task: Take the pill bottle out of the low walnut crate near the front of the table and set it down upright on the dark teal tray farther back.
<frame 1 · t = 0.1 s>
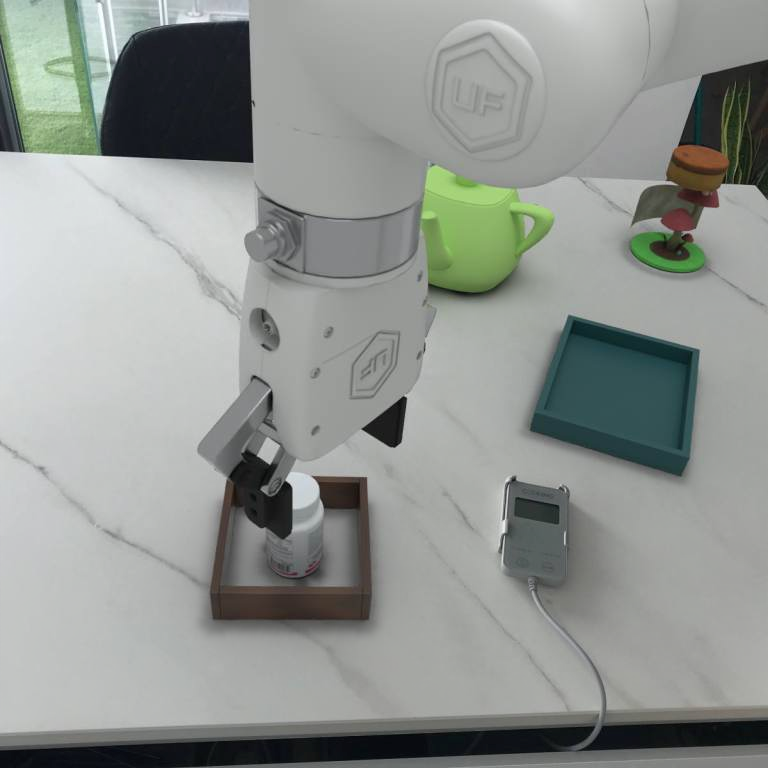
hand: (327, 476, 46), 20 cm above the table, tool pointing down, fingers open, 9 cm apart
pill bottle: (294, 557, 67), resting in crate
mushroom figurine: (668, 253, 113), on the table
teapot: (447, 271, 105), on the table
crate: (294, 556, 66), on the table
tray: (616, 396, 87), on the table
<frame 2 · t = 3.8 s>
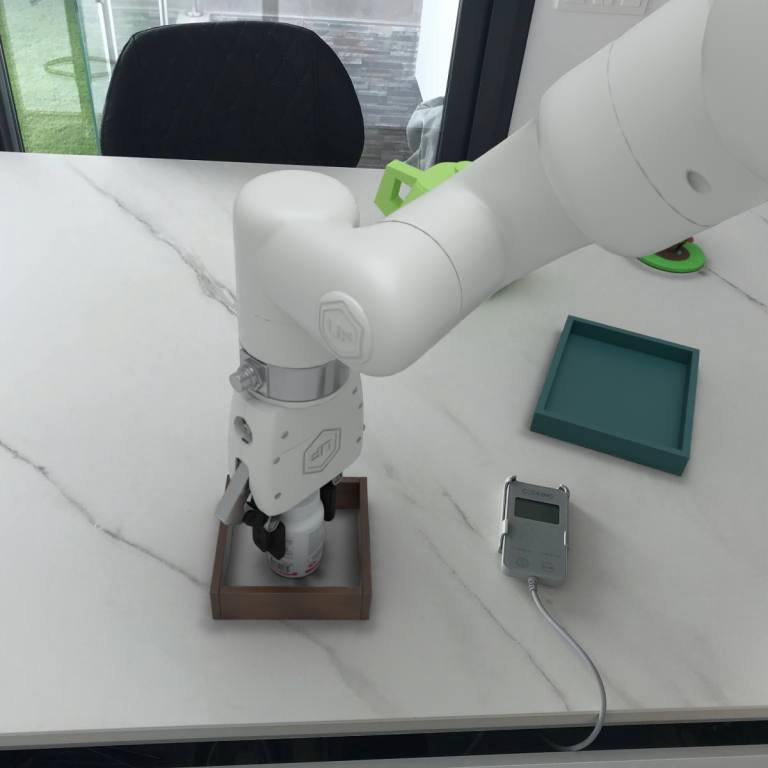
hand: (294, 527, 64), 4 cm above the table, tool pointing down, fingers closed on pill bottle, 4 cm apart
pill bottle: (294, 557, 67), resting in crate, touching gripper
everything else where it was.
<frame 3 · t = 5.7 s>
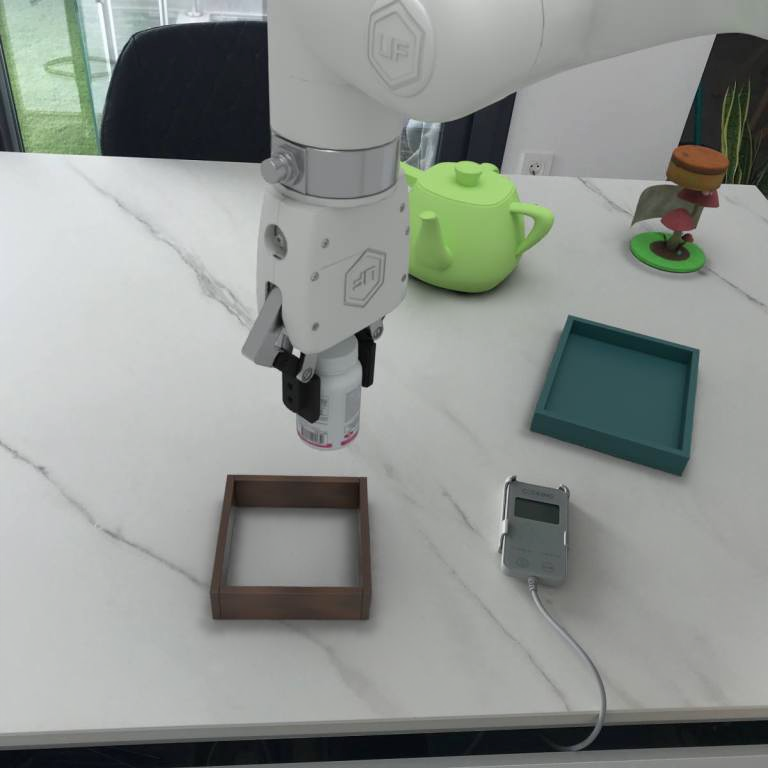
hand: (328, 392, 56), 18 cm above the table, tool pointing down, fingers closed on pill bottle, 4 cm apart
pill bottle: (327, 433, 59), point 14 cm above the table, touching gripper
everything else where it was.
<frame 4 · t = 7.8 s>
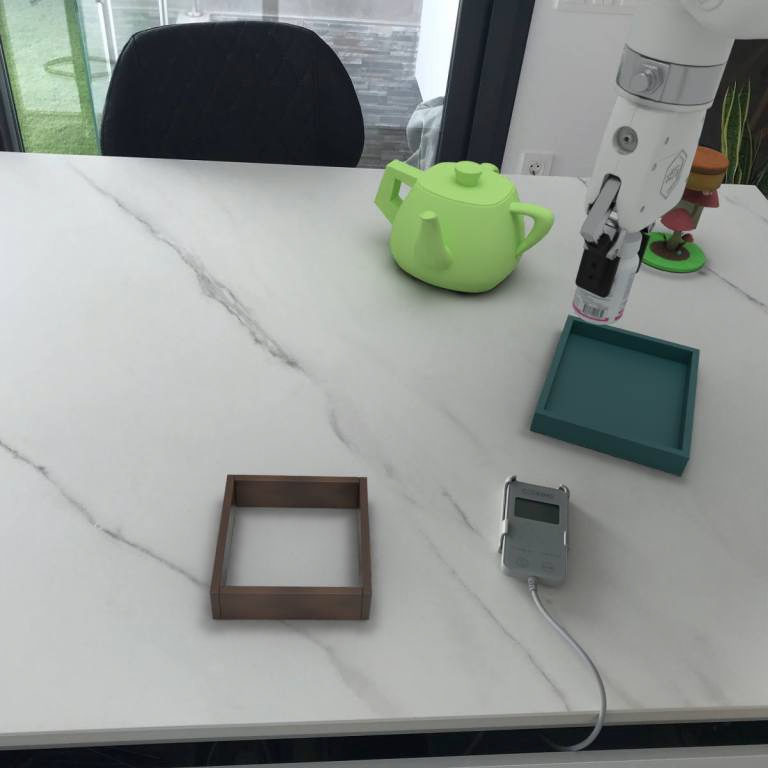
hand: (607, 277, 71), 18 cm above the table, tool pointing down, fingers closed on pill bottle, 4 cm apart
pill bottle: (595, 313, 73), point 14 cm above the table, touching gripper
everything else where it was.
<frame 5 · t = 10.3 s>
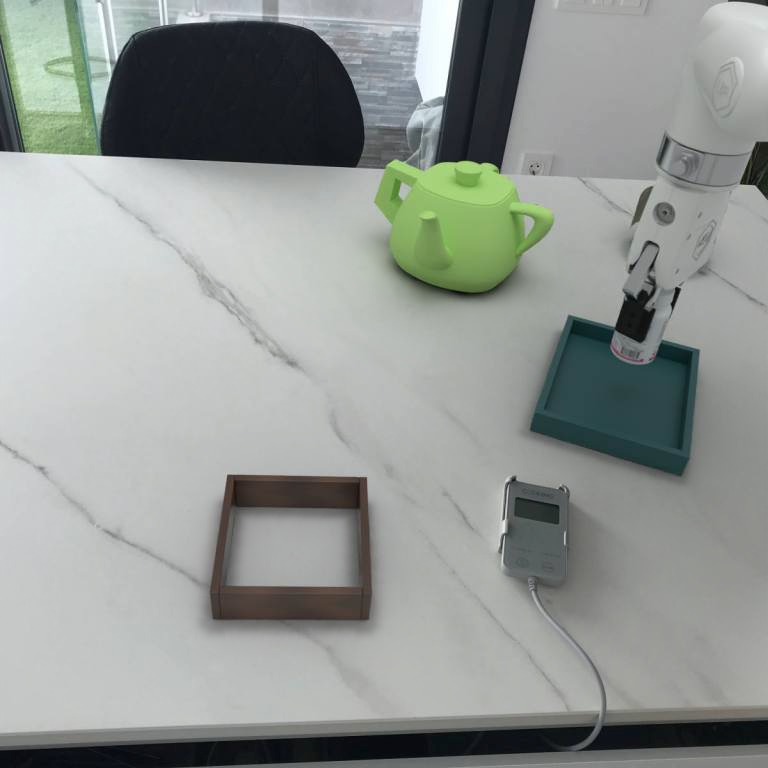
hand: (642, 323, 80), 10 cm above the table, tool pointing down, fingers closed on pill bottle, 4 cm apart
pill bottle: (631, 353, 83), point 6 cm above the table, touching gripper
everything else where it was.
when the fingers open (4 cm above the table, at t = 12.1 s): pill bottle stays where it is, resting on tray.
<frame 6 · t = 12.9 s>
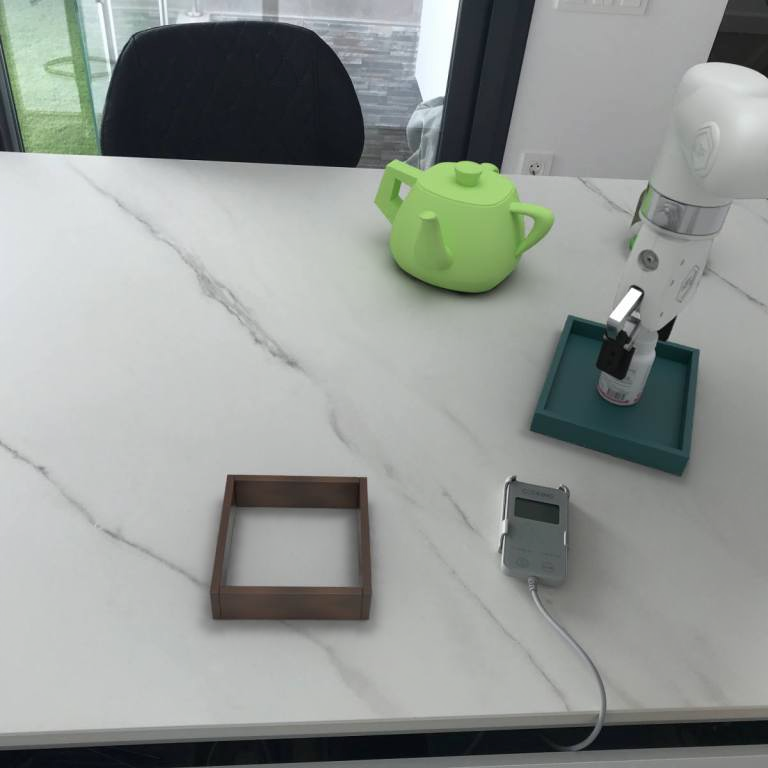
hand: (632, 353, 83), 6 cm above the table, tool pointing down, fingers open, 9 cm apart
pill bottle: (617, 394, 86), resting on tray
everything else where it was.
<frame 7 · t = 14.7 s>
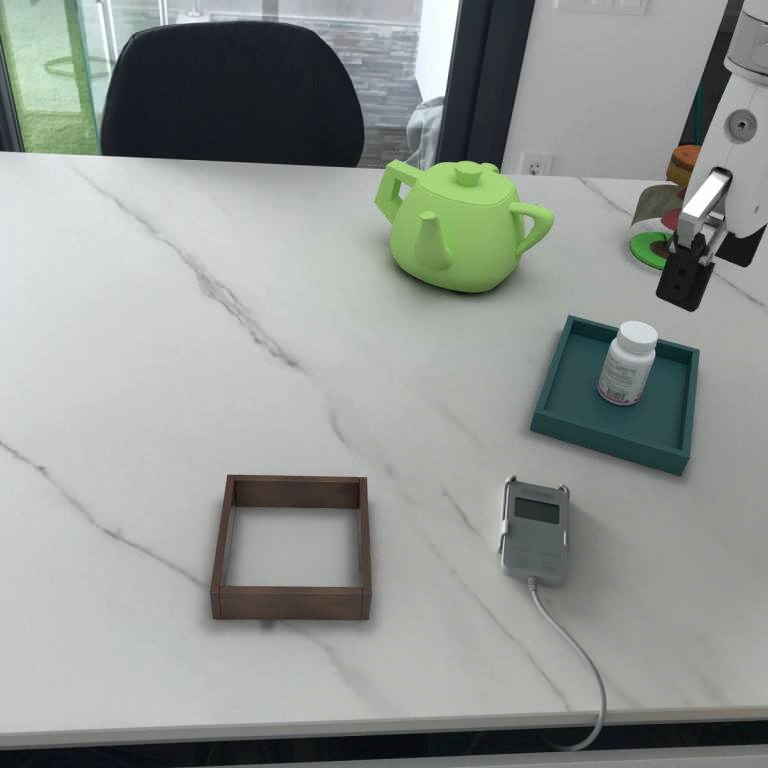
hand: (703, 280, 60), 24 cm above the table, tool pointing down, fingers open, 9 cm apart
nothing on the table moved.
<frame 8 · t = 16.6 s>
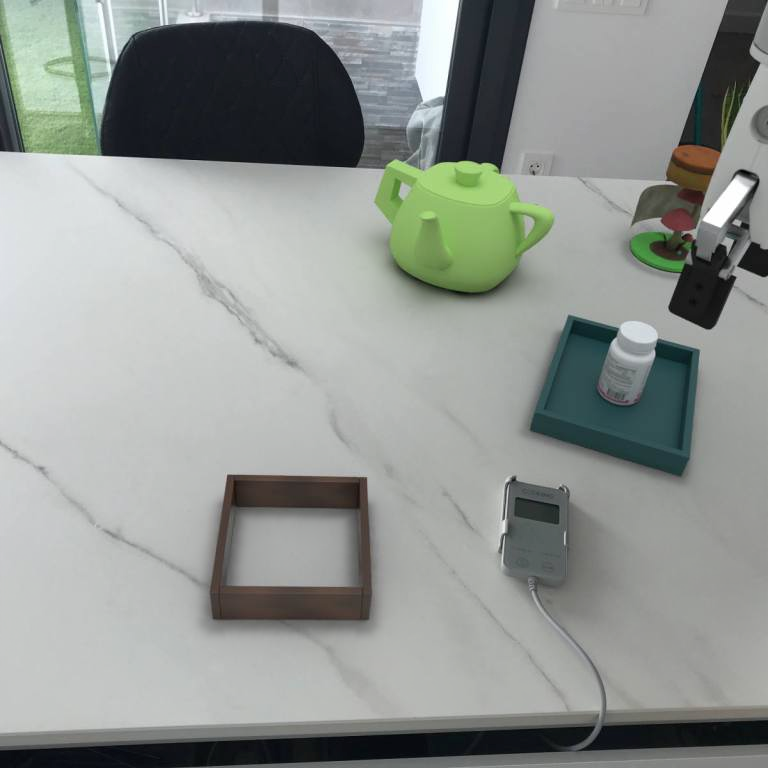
hand: (720, 292, 55), 26 cm above the table, tool pointing down, fingers open, 9 cm apart
nothing on the table moved.
at the end: pill bottle inside the target area in the tray (0.1 cm from its centre), point 0.4 cm above the tray's base; pill bottle tilted 0°; pill bottle moved 41.4 cm from its start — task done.
